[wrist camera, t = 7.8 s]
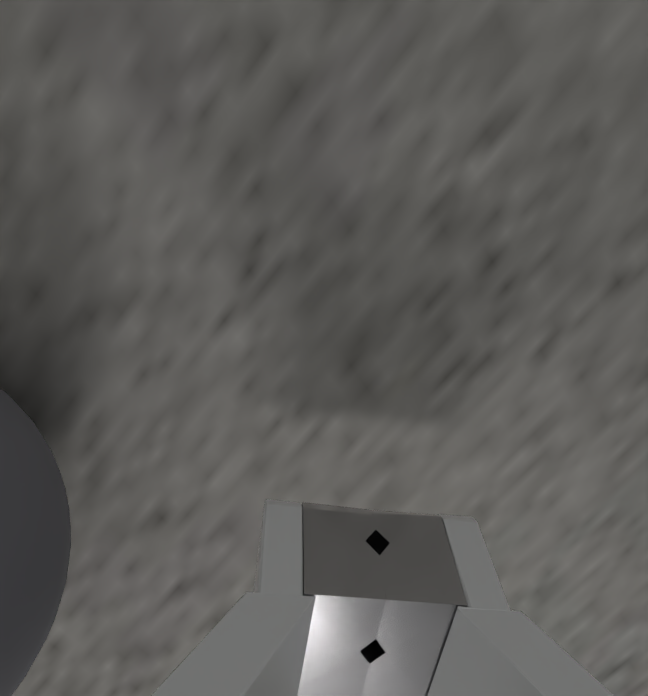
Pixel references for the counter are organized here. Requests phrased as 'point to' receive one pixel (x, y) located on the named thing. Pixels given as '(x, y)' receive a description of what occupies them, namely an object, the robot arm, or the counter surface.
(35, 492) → the dark gray ball
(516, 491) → the counter surface
